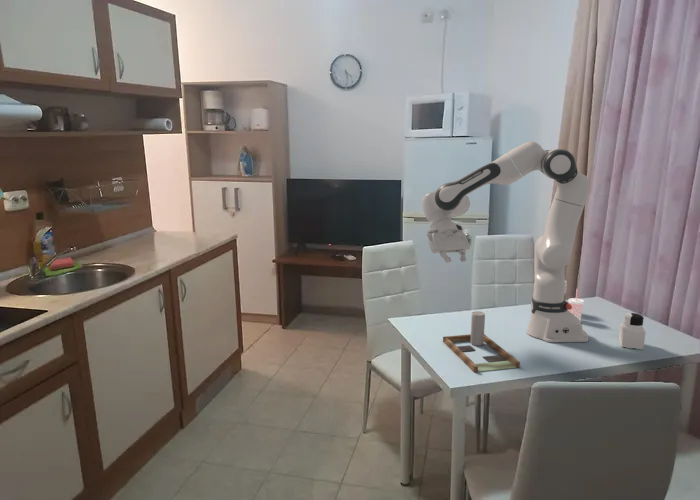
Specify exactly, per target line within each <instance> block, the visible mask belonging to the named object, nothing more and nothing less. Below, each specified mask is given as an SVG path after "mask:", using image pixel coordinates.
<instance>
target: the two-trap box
mask: <svg viewBox="0 0 700 500" xmlns="http://www.w3.org/2000/svg"><path fill="white" fill-rule="evenodd" d="M469 341H470V342H471V333H470V334H461V335H448V336H447V335H446V336H443V337H442V343H444V344H445V345H446V346H447V347H448V348H449V349H450V351H452V352H453V353H454V354H455V355H456V356H457V357H458V358H459V359H460V360H461V362H463V363H464V364H465V365H466V366H467V367H468V368H469V369H470V371H472V372H473V373H483V372H492V371H501V370H509V369H511V370H512V369H520V368H521V367H520V366H521V362H520V361H519V360H518V359H517V358H516V357H514V356H513V355H512V354H510V352H508V351H506V350H505V349H504V348H503V347H501V346H500V345H499V344H497V343H496V342H495V341H494V340H492V339H491V338H490V337H488V336H487V335H486V334H485V333H484V344H486V345H487V346H489V347H490V349H492V350H493V351H495V352H496V353H497V354H496V355H487V356H485V355H484V356H482V358H483V359H484V360H485V361H486V362H481V363H475V362H474V361H473V360H472V359H471V358H470V357H469V356H468V355H466V354H465V352H466V353H467V352H475V351H476V349H475V348H474V347H473V346H472V345H459V346H457V345H456V344H454V343H457V342H459V343H460V342H469Z"/></svg>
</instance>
